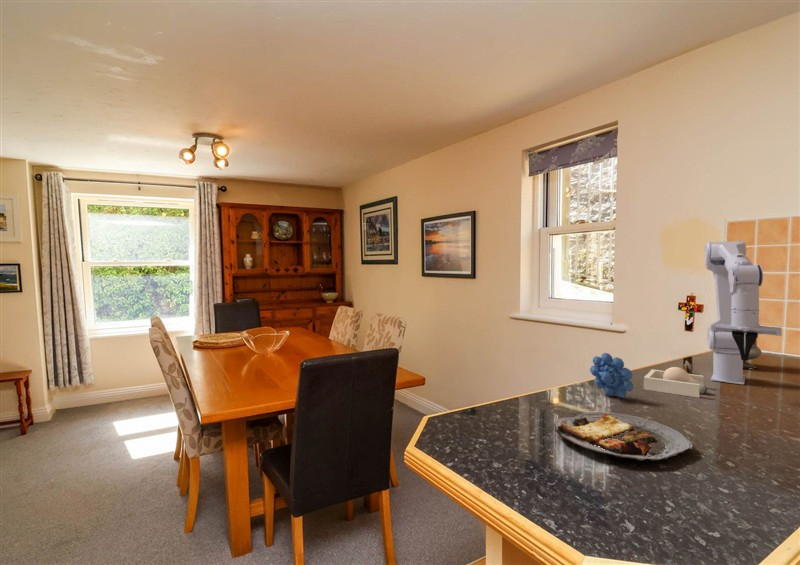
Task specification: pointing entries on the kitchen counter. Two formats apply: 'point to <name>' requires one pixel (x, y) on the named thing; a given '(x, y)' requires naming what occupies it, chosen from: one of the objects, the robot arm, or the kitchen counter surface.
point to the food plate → (607, 425)
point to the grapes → (611, 375)
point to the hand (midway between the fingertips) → (744, 359)
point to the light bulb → (682, 377)
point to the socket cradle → (672, 384)
